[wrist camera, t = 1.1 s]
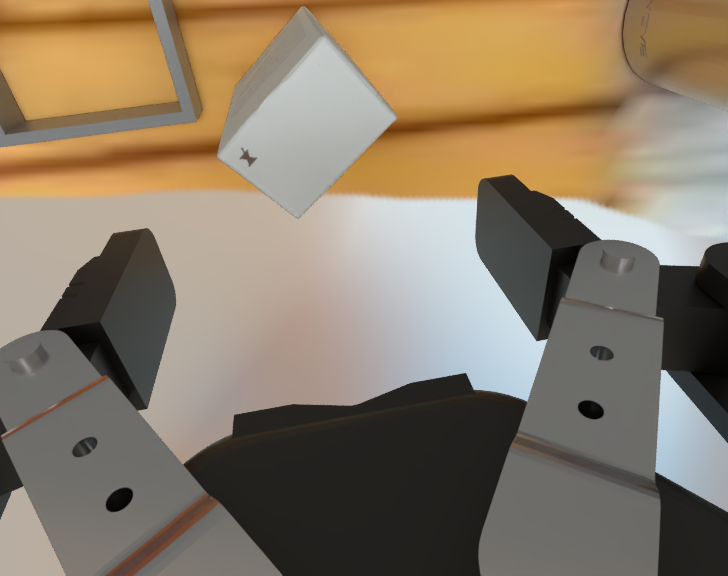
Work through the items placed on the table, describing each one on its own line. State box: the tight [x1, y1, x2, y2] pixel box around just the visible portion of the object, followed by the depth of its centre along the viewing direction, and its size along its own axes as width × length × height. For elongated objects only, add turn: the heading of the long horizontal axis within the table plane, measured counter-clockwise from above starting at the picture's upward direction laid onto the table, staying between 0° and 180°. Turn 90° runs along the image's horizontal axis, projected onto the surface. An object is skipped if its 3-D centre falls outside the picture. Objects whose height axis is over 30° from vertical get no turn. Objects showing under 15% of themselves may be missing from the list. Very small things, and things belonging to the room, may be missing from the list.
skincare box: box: [217, 6, 397, 218], centre depth 23 cm, size 6×4×12 cm
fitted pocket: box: [0, 0, 203, 147], centre depth 24 cm, size 10×9×2 cm
